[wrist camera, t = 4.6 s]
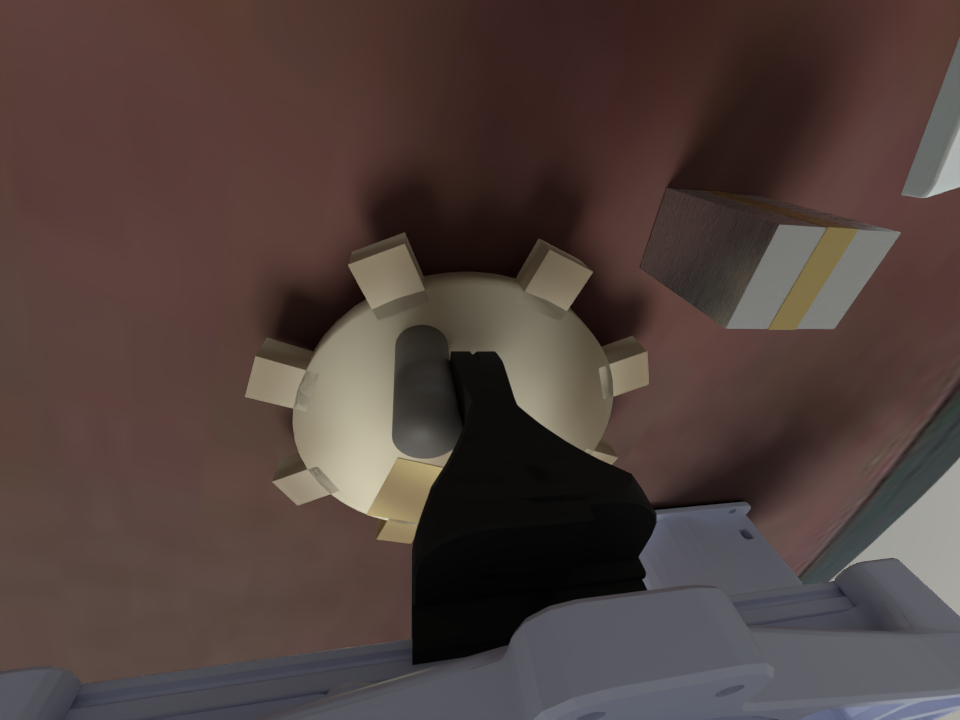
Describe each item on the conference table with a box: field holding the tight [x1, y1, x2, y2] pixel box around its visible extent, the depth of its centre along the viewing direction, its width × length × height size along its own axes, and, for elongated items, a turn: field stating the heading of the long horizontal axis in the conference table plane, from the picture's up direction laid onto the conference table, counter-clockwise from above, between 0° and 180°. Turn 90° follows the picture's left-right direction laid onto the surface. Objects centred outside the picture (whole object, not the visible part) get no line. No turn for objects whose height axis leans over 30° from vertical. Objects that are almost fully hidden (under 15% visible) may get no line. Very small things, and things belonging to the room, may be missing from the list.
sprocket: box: [245, 232, 649, 544], centre depth 14 cm, size 16×16×5 cm
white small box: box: [640, 188, 901, 330], centre depth 13 cm, size 4×3×5 cm
